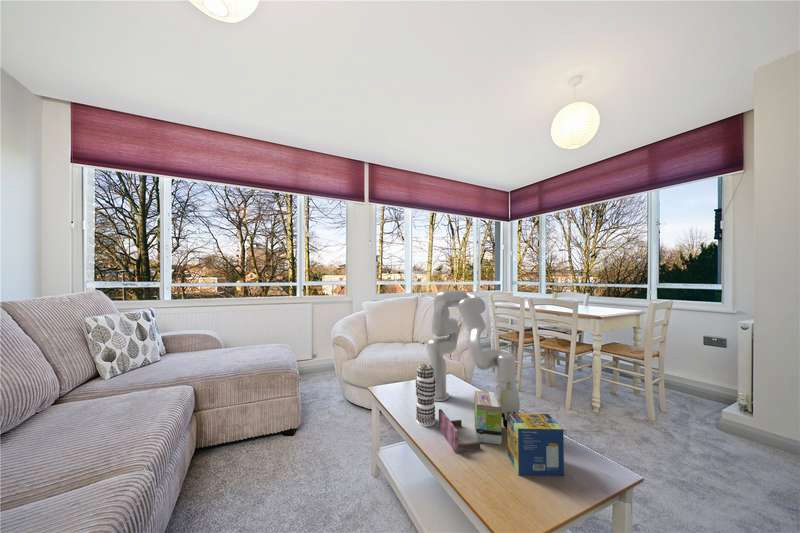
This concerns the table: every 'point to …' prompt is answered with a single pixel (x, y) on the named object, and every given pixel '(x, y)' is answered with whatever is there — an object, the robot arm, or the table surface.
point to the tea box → (488, 418)
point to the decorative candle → (425, 395)
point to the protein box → (535, 445)
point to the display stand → (454, 434)
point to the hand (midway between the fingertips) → (507, 427)
